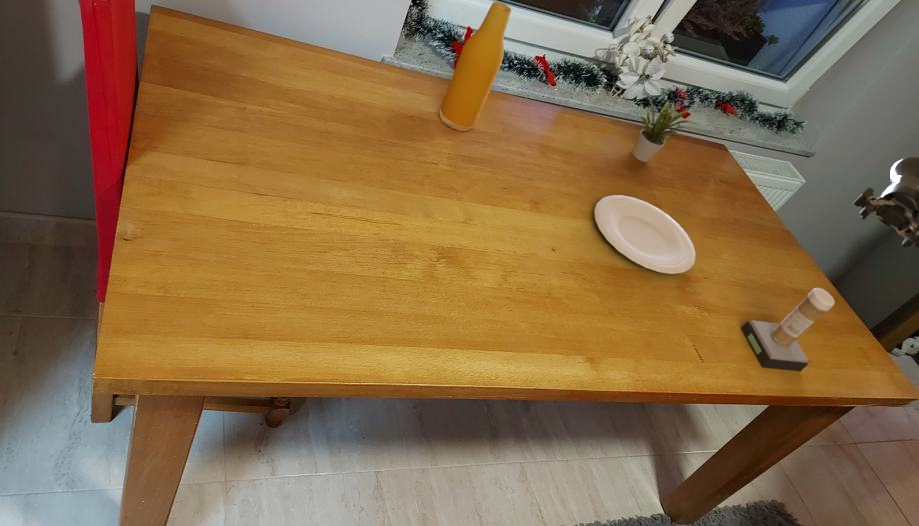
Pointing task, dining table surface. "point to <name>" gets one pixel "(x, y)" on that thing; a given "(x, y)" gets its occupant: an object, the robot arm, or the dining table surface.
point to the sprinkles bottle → (802, 317)
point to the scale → (773, 348)
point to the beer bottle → (477, 69)
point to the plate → (644, 234)
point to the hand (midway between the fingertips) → (886, 229)
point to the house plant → (656, 132)
